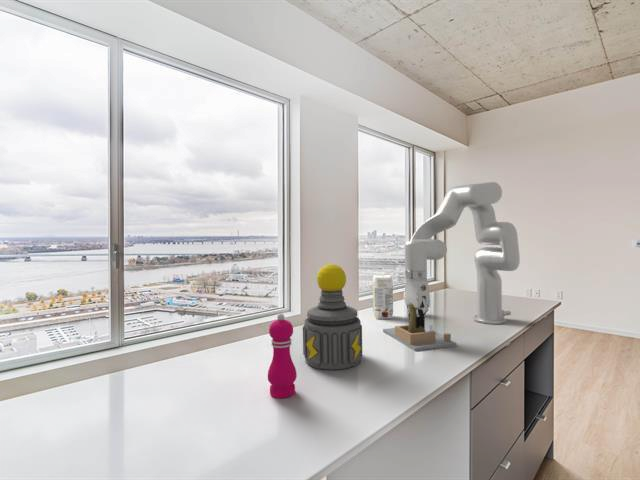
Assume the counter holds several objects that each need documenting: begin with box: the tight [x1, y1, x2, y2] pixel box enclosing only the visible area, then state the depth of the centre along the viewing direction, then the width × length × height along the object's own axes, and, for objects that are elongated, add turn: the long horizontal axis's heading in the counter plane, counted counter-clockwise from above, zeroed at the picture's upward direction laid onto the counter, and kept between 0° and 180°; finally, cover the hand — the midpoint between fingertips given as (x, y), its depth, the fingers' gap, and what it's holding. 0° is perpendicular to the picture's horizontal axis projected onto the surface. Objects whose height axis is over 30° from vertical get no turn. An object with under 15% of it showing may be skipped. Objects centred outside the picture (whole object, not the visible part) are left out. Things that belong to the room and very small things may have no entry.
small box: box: [403, 291, 410, 318], centre depth 169 cm, size 8×6×10 cm
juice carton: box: [372, 274, 394, 320], centre depth 166 cm, size 8×9×19 cm
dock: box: [382, 324, 457, 352], centre depth 134 cm, size 16×24×4 cm, turn 16°
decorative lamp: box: [302, 263, 363, 371], centre depth 113 cm, size 19×19×30 cm
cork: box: [408, 303, 425, 333], centre depth 130 cm, size 6×6×11 cm
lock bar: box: [425, 321, 434, 332], centre depth 142 cm, size 2×10×4 cm, turn 15°
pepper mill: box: [267, 313, 297, 399], centre depth 91 cm, size 7×7×20 cm
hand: (416, 325), depth 131 cm, fingers closed on cork, 4 cm apart
